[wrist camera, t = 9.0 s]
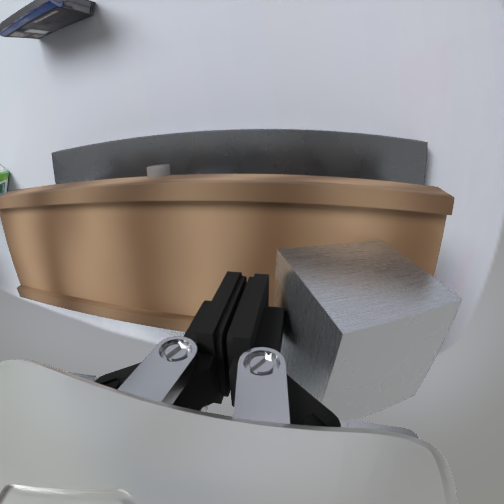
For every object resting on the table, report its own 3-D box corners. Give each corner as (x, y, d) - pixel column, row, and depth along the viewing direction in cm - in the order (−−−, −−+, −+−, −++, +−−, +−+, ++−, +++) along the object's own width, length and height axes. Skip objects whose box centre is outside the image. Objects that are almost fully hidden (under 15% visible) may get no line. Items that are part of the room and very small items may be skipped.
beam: (434, 174, 13) (455, 186, 10) (402, 324, 17) (412, 352, 14) (14, 182, 17) (-10, 192, 15) (40, 286, 21) (22, 301, 19)
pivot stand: (422, 141, 18) (473, 155, 11) (401, 285, 23) (426, 347, 16) (58, 151, 24) (-2, 169, 17) (78, 260, 29) (32, 297, 22)
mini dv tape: (39, 39, 19) (-3, 36, 13) (40, 27, 18) (-1, 23, 13) (93, 15, 18) (49, 4, 12) (95, 2, 17) (53, -11, 12)
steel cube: (382, 240, 13) (462, 299, 8) (360, 328, 15) (414, 395, 10) (277, 249, 11) (343, 333, 7) (269, 347, 13) (310, 435, 9)
